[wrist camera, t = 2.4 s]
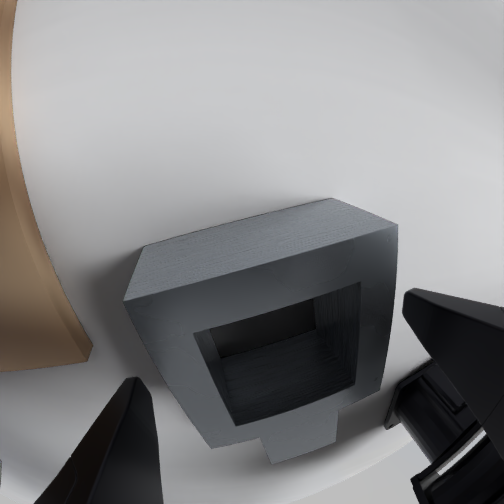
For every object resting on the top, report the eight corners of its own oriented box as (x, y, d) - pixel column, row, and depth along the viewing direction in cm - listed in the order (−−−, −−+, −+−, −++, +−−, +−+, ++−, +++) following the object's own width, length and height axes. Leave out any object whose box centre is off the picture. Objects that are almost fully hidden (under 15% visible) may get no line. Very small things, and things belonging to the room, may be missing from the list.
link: (339, 378, 13) (370, 425, 10) (219, 417, 12) (232, 474, 9) (332, 198, 9) (398, 224, 6) (144, 246, 8) (122, 301, 5)
